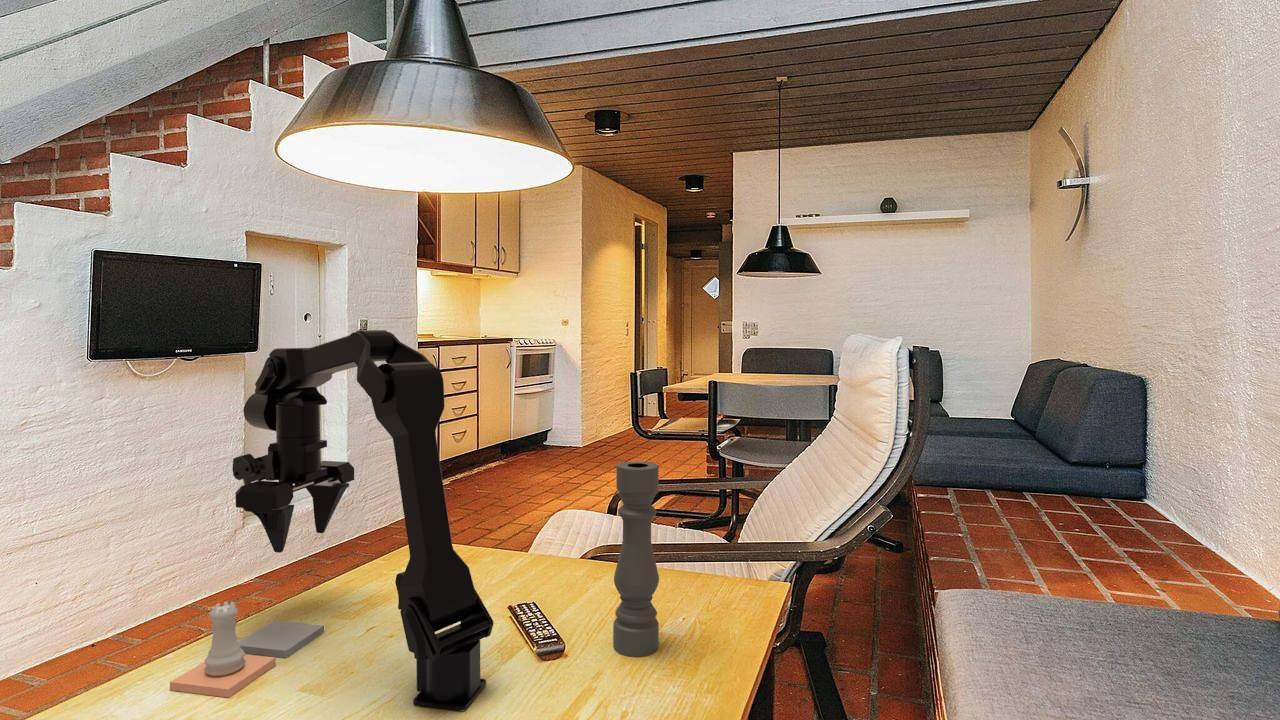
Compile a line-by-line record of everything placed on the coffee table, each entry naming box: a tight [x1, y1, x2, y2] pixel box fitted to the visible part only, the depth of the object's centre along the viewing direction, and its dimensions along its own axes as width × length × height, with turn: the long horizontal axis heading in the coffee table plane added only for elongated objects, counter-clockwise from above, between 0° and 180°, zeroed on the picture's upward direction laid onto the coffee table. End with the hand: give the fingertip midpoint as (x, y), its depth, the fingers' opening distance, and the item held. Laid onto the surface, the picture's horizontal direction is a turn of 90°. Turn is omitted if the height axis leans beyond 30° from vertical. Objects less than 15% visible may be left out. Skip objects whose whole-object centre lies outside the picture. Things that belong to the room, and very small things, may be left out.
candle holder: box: [612, 460, 660, 658], centre depth 97 cm, size 6×6×25 cm
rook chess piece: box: [204, 601, 246, 677], centre depth 88 cm, size 4×4×8 cm
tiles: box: [169, 619, 325, 698], centre depth 93 cm, size 8×18×1 cm, turn 169°
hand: (300, 542), depth 104 cm, fingers open, 9 cm apart
